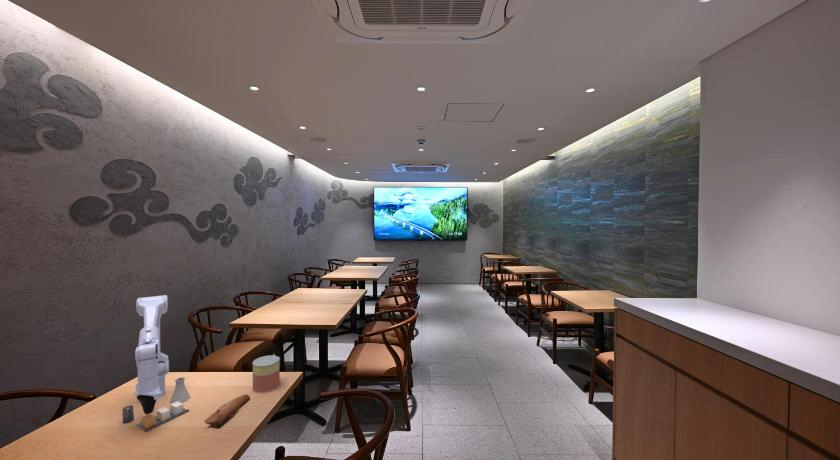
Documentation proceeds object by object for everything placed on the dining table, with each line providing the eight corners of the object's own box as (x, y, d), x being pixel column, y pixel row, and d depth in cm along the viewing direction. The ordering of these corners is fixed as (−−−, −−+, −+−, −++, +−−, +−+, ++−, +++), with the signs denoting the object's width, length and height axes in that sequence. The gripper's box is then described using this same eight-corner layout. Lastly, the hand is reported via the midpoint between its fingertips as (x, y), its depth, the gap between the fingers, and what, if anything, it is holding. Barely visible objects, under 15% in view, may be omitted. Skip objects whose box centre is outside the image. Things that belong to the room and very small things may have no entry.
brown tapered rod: (231, 399, 135) (239, 387, 134) (245, 409, 134) (252, 396, 134) (197, 427, 117) (206, 412, 116) (212, 438, 116) (221, 423, 116)
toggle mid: (156, 418, 120) (156, 410, 120) (164, 414, 123) (164, 407, 122) (162, 421, 119) (162, 413, 118) (169, 417, 121) (169, 410, 121)
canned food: (283, 379, 152) (283, 355, 152) (273, 392, 141) (273, 365, 140) (259, 380, 151) (259, 355, 151) (247, 393, 140) (247, 366, 140)
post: (117, 424, 118) (117, 409, 118) (132, 418, 122) (132, 403, 122) (123, 428, 116) (123, 412, 116) (138, 421, 120) (138, 406, 119)
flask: (179, 408, 128) (178, 384, 128) (164, 406, 130) (164, 382, 130) (195, 398, 136) (195, 375, 135) (181, 396, 137) (180, 373, 137)
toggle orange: (142, 425, 116) (141, 416, 116) (150, 421, 119) (150, 413, 118) (147, 428, 115) (147, 420, 114) (155, 424, 117) (155, 416, 117)
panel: (135, 427, 116) (135, 423, 116) (178, 408, 129) (178, 404, 129) (146, 434, 113) (145, 430, 112) (189, 413, 125) (189, 409, 125)
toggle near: (170, 411, 124) (170, 404, 124) (177, 408, 127) (177, 401, 126) (175, 414, 123) (175, 407, 122) (183, 411, 125) (183, 403, 125)
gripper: (124, 376, 116) (125, 413, 116) (144, 386, 109) (145, 425, 110) (148, 368, 122) (149, 403, 122) (168, 377, 115) (168, 414, 116)
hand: (148, 412), depth 116 cm, fingers closed
